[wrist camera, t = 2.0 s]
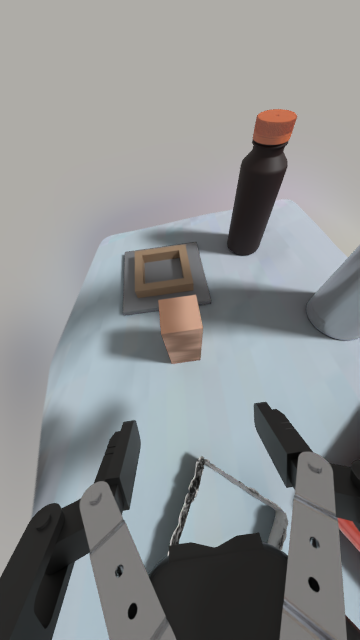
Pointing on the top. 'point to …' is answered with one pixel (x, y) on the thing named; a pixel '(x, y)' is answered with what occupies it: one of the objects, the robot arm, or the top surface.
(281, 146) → the bottle
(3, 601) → the robot arm
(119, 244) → the top surface
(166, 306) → the terracotta post
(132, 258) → the socket dock
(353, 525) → the plant saucer
